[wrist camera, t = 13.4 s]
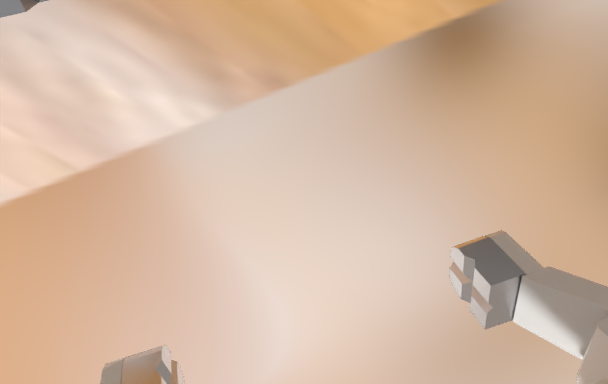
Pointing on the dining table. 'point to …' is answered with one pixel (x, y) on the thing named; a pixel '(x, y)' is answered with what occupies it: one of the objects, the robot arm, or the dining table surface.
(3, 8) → the pusher lane
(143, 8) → the dining table surface
